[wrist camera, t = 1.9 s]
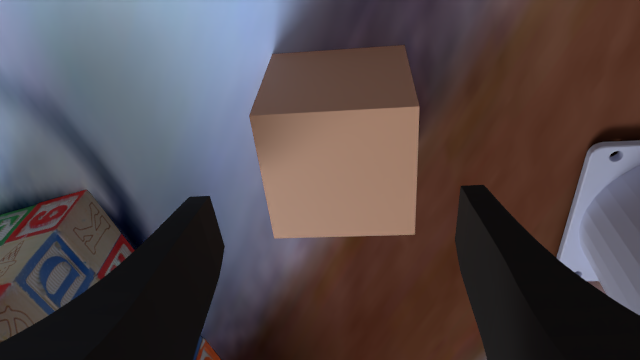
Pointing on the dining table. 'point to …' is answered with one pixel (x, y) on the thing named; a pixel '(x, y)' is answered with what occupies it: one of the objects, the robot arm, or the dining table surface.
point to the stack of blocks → (58, 260)
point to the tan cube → (338, 142)
